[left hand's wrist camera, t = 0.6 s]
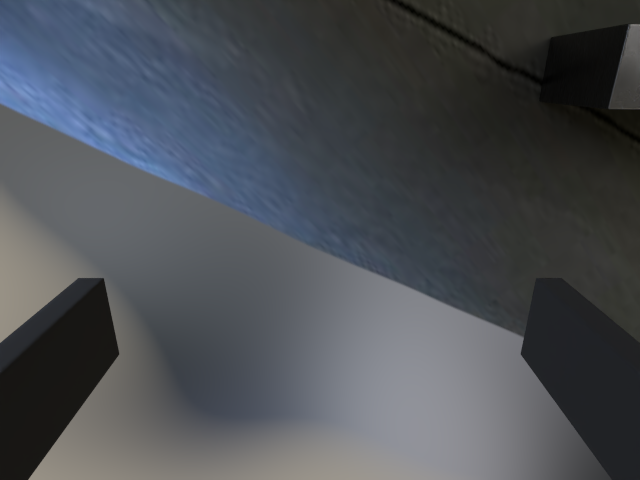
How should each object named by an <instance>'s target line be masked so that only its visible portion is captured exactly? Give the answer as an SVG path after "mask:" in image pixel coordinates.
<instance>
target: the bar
mask: <svg viewBox="0 0 640 480" xmlns="http://www.w3.org/2000/svg"><path fill="white" fill-rule="evenodd" d="M539 101H540V102H547V103H556V104H565V105H574V106H583V107H593V108H602V109H627V110H640V24H625V25H619V26H613V27H608V28H602V29H596V30H590V31H585V32H579V33H573V34H567V35H562V36H556V37H552V38H551V41H550V47H549V52H548V57H547V63H546V68H545V73H544V79H543V84H542V89H541V94H540V100H539Z"/></svg>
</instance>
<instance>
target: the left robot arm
mask: <svg viewBox="0 0 640 480" xmlns="http://www.w3.org/2000/svg"><path fill="white" fill-rule="evenodd" d="M118 355H119V350H118V346H117V341H116V336H115V331H114V326H113V321H112V316H111V311H110V307H109V302H108V297H107V292H106V287H105V282H104V278H78V279H77V280H76V281H75V282H73V283H72V284H71V285H70V286H69V287H67V288H66V289H65V290H64V291H62V292H61V293H60V294H59V295H58V296H56V297H55V298H54V299H53V300H52V301H50V302H49V303H48V304H47V305H46V306H44V307H43V308H42V309H41V310H40V311H38V312H37V313H36V314H35V315H34V316H32V317H31V318H30V319H29V320H27V321H26V322H25V323H24V324H23V325H21V326H20V327H19V328H18V329H17V330H15V331H14V332H13V333H12V334H11V335H9V336H8V337H7V338H6V339H5V340H3V341H2V342H1V343H0V480H28V479H29V478H30V476H31V475H32V473H33V472H34V471H35V469H36V468H37V467H38V465H39V464H40V462H41V461H42V460H43V458H44V457H45V456H46V454H47V453H48V452H49V450H50V449H51V447H52V446H53V445H54V443H55V442H56V441H57V439H58V438H59V436H60V435H61V434H62V432H63V431H64V430H65V428H66V427H67V425H68V424H69V423H70V421H71V420H72V419H73V417H74V416H75V414H76V413H77V412H78V410H79V409H80V408H81V406H82V405H83V403H84V402H85V401H86V399H87V398H88V397H89V395H90V394H91V392H92V391H93V390H94V388H95V387H96V385H97V384H98V383H99V381H100V380H101V379H102V377H103V376H104V375H105V373H106V372H107V370H108V369H109V368H110V366H111V365H112V364H113V362H114V361H115V359H116V358H117V357H118ZM521 355H522V357H523V358H524V359H525V361H526V362H527V363H528V365H529V366H530V368H531V369H532V370H533V372H534V373H535V374H536V376H537V377H538V379H539V380H540V381H541V383H542V384H543V386H544V387H545V388H546V390H547V391H548V392H549V394H550V395H551V397H552V398H553V399H554V401H555V402H556V403H557V405H558V406H559V408H560V409H561V410H562V412H563V413H564V414H565V416H566V417H567V418H568V420H569V421H570V423H571V424H572V425H573V427H574V428H575V430H576V431H577V432H578V434H579V435H580V436H581V438H582V439H583V441H584V442H585V443H586V445H587V446H588V447H589V449H590V450H591V451H592V453H593V454H594V456H595V457H596V458H597V460H598V461H599V463H600V464H601V465H602V467H603V468H604V469H605V471H606V472H607V474H608V475H609V476H610V478H611V479H612V480H640V343H639V342H638V341H637V340H635V339H634V338H633V337H632V336H631V335H629V334H628V333H627V332H626V331H625V330H623V329H622V328H621V327H620V326H619V325H617V324H616V323H615V322H614V321H613V320H611V319H610V318H609V317H608V316H607V315H605V314H604V313H603V312H602V311H600V310H599V309H598V308H597V307H596V306H594V305H593V304H592V303H591V302H590V301H588V300H587V299H586V298H585V297H584V296H582V295H581V294H580V293H579V292H578V291H576V290H575V289H574V288H573V287H572V286H570V285H569V284H568V283H567V282H565V281H564V280H563V279H562V278H536V282H535V287H534V292H533V297H532V302H531V306H530V311H529V316H528V321H527V326H526V331H525V336H524V341H523V345H522V350H521Z"/></svg>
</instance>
